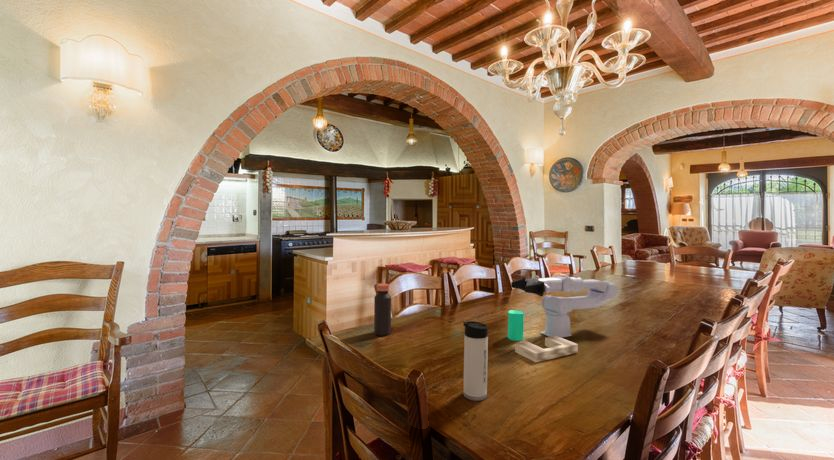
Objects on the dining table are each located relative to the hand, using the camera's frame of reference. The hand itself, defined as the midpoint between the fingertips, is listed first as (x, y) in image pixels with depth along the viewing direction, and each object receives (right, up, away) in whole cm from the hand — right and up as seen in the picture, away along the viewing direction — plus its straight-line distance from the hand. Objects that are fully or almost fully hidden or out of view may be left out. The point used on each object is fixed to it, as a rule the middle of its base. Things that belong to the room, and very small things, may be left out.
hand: (518, 286), depth 137 cm
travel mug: (-23, -23, -40) cm, 52 cm away
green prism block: (0, -21, +5) cm, 22 cm away
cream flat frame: (+7, -22, -9) cm, 25 cm away
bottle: (-53, -21, +9) cm, 58 cm away
